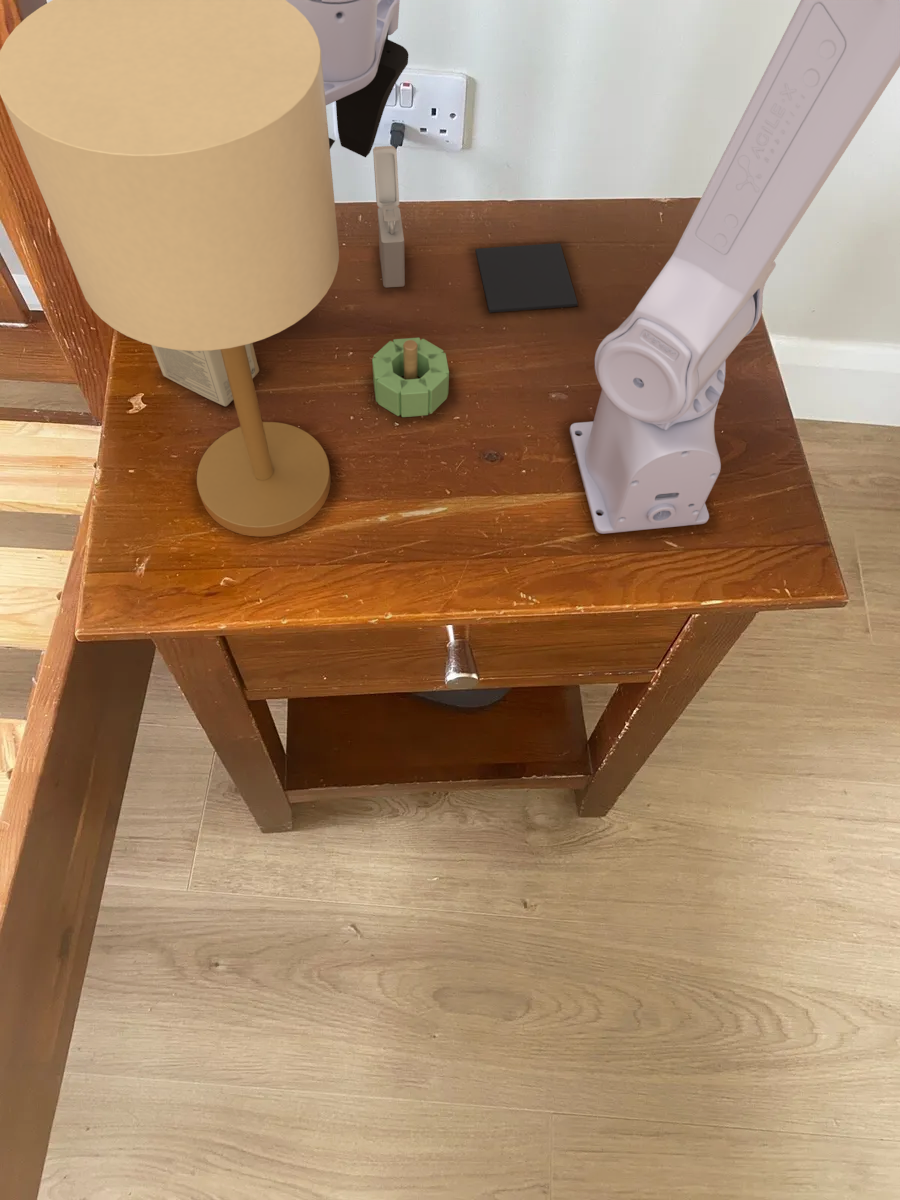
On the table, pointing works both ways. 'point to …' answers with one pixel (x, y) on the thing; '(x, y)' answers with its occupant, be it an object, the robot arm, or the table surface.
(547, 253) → the coaster
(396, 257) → the lighter
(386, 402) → the ring
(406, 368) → the peg
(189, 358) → the cosmetic box
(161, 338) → the lamp
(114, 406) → the table surface
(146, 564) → the table surface
